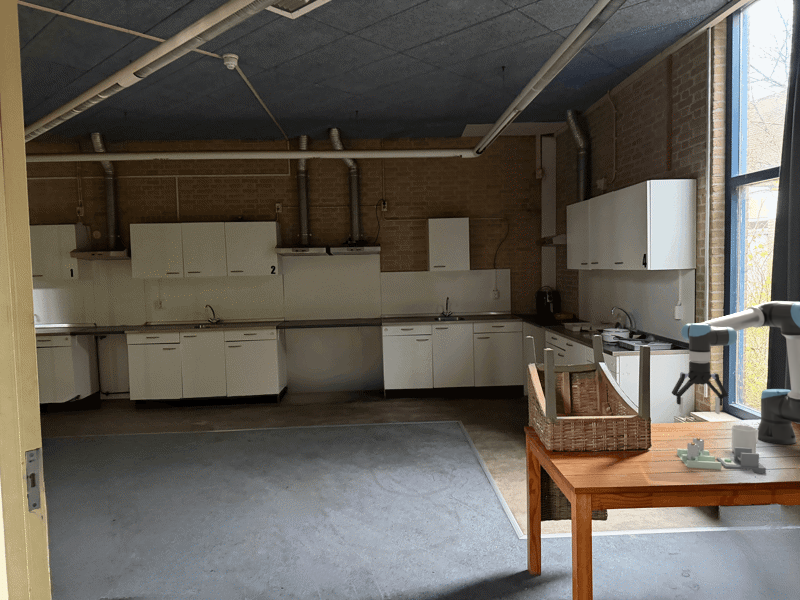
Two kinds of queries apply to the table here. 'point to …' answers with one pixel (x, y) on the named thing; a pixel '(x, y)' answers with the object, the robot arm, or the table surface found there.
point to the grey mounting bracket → (743, 460)
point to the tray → (703, 462)
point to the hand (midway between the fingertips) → (699, 412)
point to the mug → (744, 437)
